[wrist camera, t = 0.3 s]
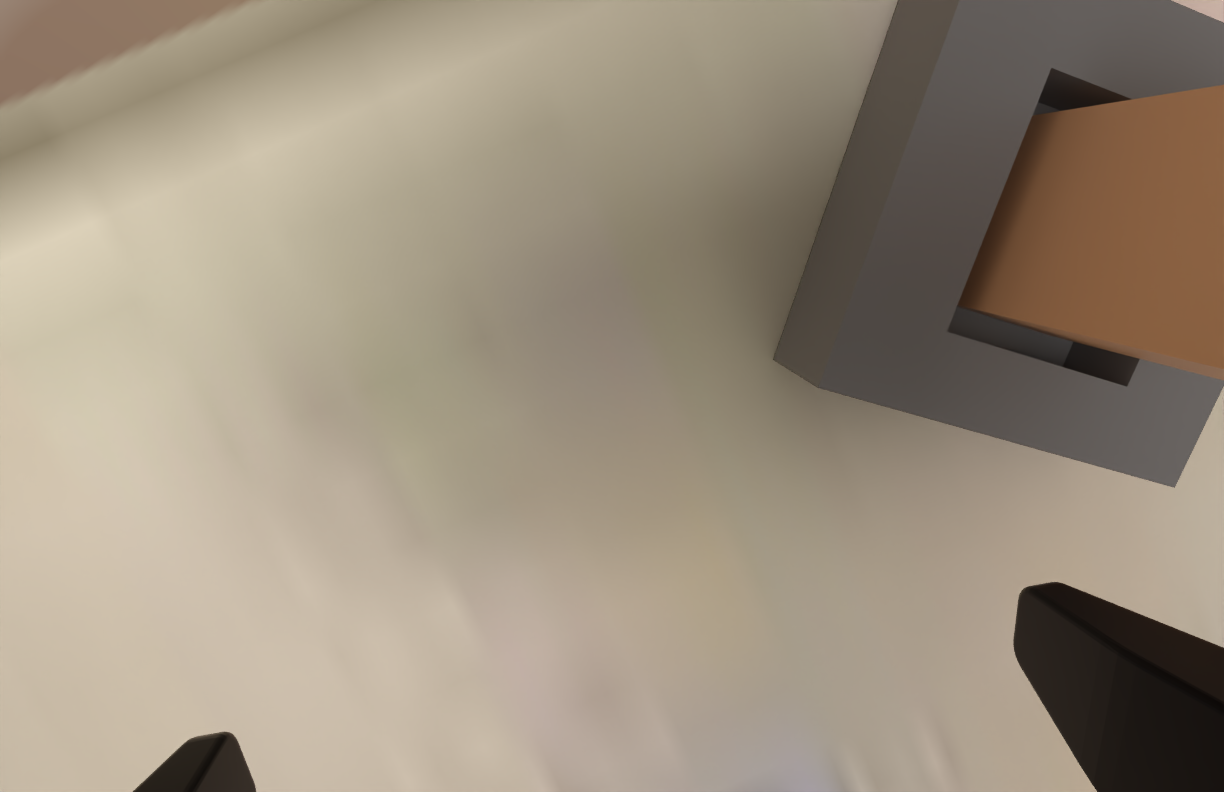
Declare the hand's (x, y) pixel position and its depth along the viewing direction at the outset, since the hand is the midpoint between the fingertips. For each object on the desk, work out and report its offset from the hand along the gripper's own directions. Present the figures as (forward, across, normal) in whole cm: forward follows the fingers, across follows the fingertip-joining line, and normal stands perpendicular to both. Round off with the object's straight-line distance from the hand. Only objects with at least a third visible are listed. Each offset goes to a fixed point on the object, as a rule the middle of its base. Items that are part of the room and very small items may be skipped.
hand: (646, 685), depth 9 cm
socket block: (+14, -13, -1) cm, 20 cm away
